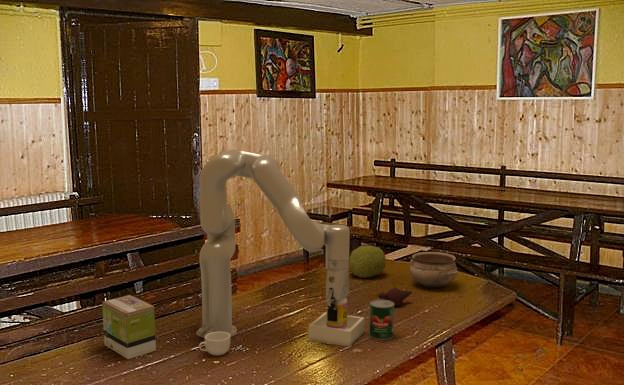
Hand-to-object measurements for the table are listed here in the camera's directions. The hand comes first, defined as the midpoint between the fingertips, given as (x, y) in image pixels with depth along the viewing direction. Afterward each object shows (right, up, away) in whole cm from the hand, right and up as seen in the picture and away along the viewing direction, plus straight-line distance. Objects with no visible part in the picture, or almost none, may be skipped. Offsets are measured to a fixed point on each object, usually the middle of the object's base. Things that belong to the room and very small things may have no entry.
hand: (336, 316), depth 215 cm
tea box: (-64, -8, -10) cm, 65 cm away
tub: (0, -7, +1) cm, 7 cm away
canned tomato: (+15, -7, +2) cm, 16 cm away
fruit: (+16, +4, +71) cm, 73 cm away
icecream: (+23, -2, +33) cm, 40 cm away
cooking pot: (+41, +2, +57) cm, 70 cm away
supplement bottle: (0, -4, +1) cm, 4 cm away
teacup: (-37, -9, -13) cm, 41 cm away
